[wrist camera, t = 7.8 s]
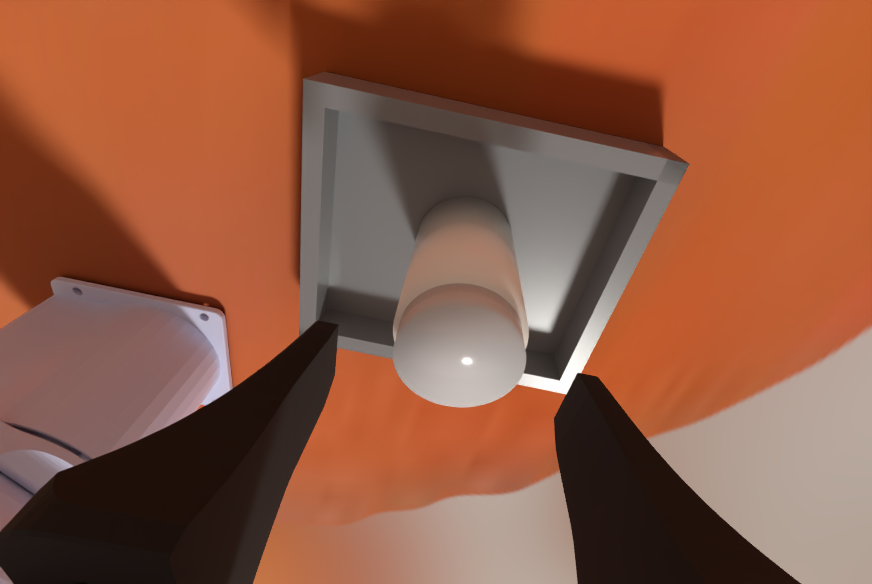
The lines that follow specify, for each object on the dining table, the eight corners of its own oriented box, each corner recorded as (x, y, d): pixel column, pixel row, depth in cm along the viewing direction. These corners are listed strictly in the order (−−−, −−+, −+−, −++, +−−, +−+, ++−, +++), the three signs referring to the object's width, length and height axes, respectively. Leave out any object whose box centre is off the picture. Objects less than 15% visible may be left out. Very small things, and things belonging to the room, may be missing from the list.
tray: (315, 311, 23) (299, 340, 21) (325, 71, 17) (303, 78, 15) (561, 361, 24) (569, 394, 22) (663, 146, 17) (689, 164, 15)
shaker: (414, 276, 21) (384, 402, 14) (420, 190, 18) (388, 290, 12) (503, 287, 21) (517, 419, 14) (521, 202, 18) (548, 310, 12)
